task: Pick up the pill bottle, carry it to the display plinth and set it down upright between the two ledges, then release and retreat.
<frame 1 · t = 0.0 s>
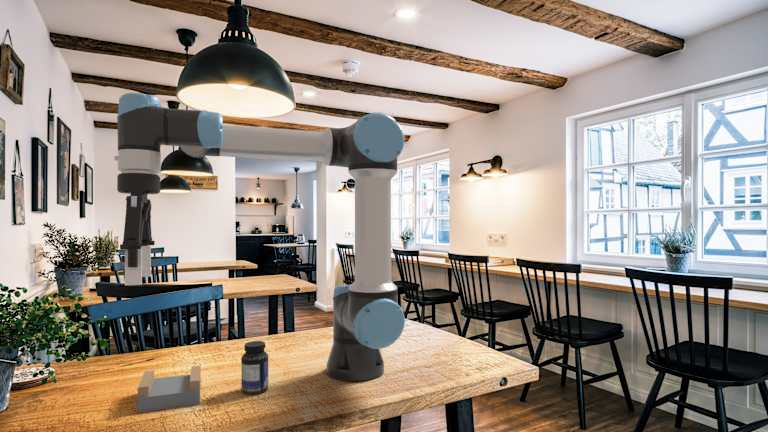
hand: (138, 280, 90), 28 cm above the table, fingers open, 13 cm apart
pill bottle: (255, 391, 106), on the table
display plinth: (171, 398, 102), on the table
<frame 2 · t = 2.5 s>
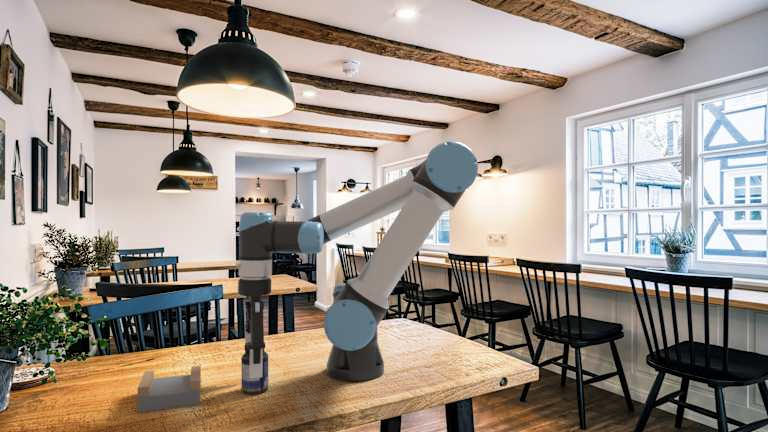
hand: (253, 368, 106), 5 cm above the table, fingers open, 13 cm apart
nothing on the table moved.
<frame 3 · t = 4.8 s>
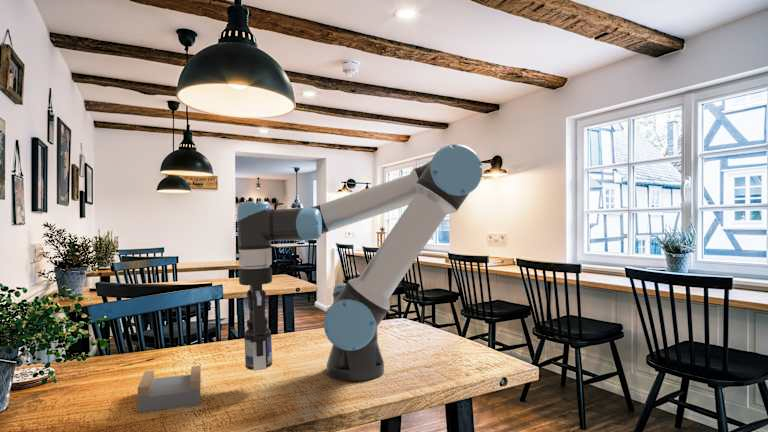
hand: (258, 365, 106), 6 cm above the table, fingers closed on pill bottle, 6 cm apart
pill bottle: (259, 367, 106), point 5 cm above the table, touching gripper
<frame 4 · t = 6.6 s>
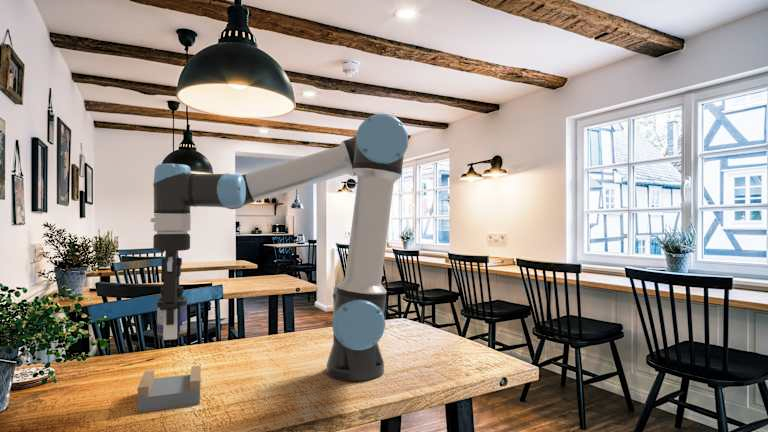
hand: (171, 335, 102), 14 cm above the table, fingers closed on pill bottle, 6 cm apart
pill bottle: (172, 337, 102), point 14 cm above the table, touching gripper
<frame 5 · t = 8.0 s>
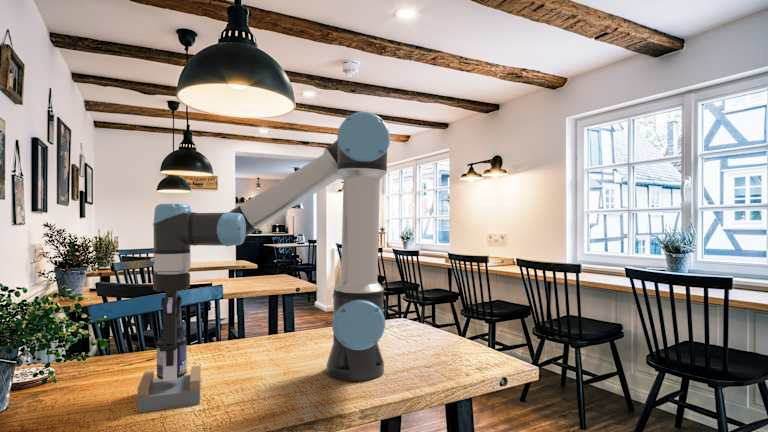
hand: (171, 374, 102), 5 cm above the table, fingers closed on pill bottle, 6 cm apart
pill bottle: (171, 376, 102), point 5 cm above the table, touching gripper
when the fingers open (4 cm above the table, at t = 8.9 s): pill bottle drops 1 cm, resting on display plinth.
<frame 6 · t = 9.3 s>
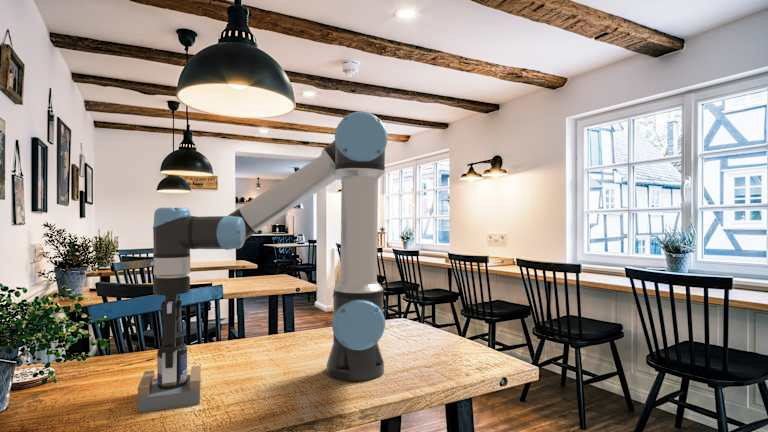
hand: (171, 373, 102), 5 cm above the table, fingers open, 11 cm apart
pill bottle: (172, 385, 102), point 3 cm above the table, touching display plinth
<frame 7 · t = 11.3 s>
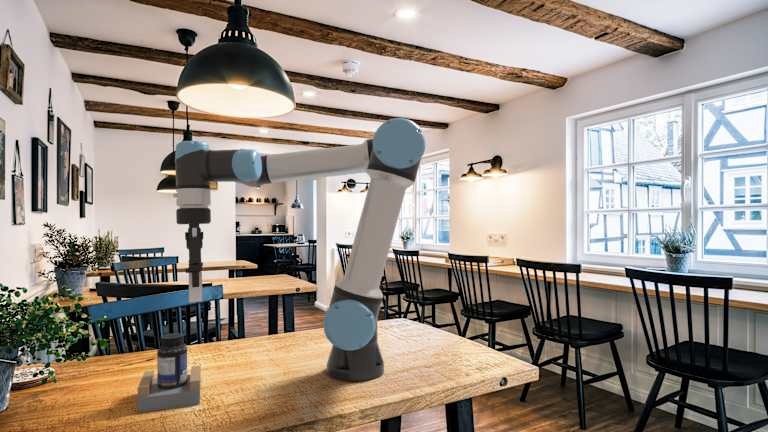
hand: (195, 297, 107), 22 cm above the table, fingers open, 13 cm apart
nothing on the table moved.
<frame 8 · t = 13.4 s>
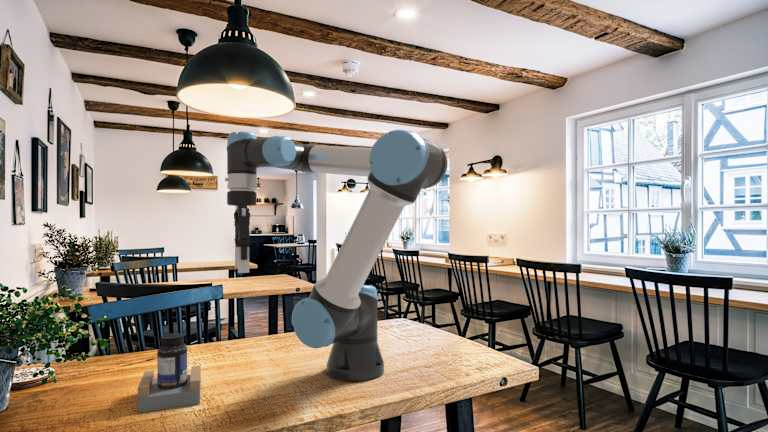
hand: (241, 270, 121), 27 cm above the table, fingers open, 13 cm apart
nothing on the table moved.
at the end: pill bottle inside the target area on the display plinth (0.2 cm from its centre), point 2.8 cm above the display plinth's base; pill bottle tilted 0°; the gripper is holding nothing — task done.
